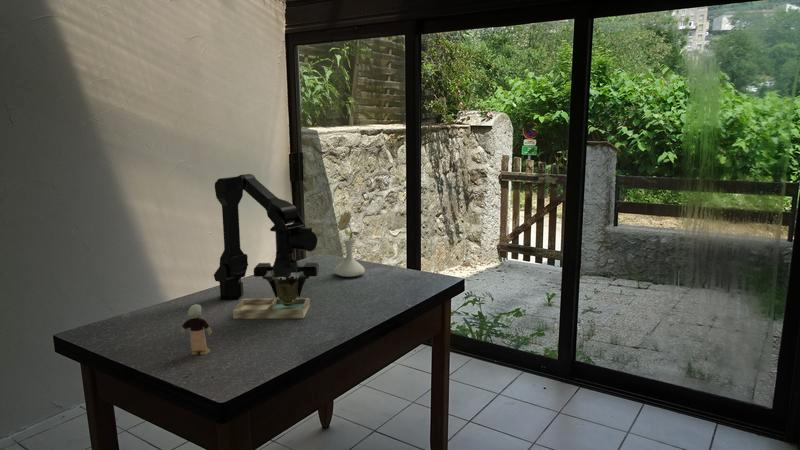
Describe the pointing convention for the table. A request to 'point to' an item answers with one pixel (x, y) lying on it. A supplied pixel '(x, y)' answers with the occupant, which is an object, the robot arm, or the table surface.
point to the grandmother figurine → (197, 330)
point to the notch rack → (270, 309)
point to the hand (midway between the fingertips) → (288, 297)
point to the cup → (287, 290)
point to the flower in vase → (348, 251)
